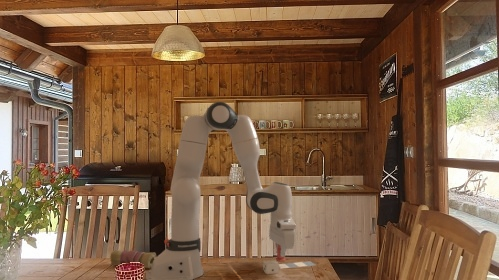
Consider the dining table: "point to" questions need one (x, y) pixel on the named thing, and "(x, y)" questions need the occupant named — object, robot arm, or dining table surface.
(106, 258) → the dining table surface
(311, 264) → the board
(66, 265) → the dining table surface
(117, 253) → the rolled towel
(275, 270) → the die
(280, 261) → the pawn
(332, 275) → the dining table surface
